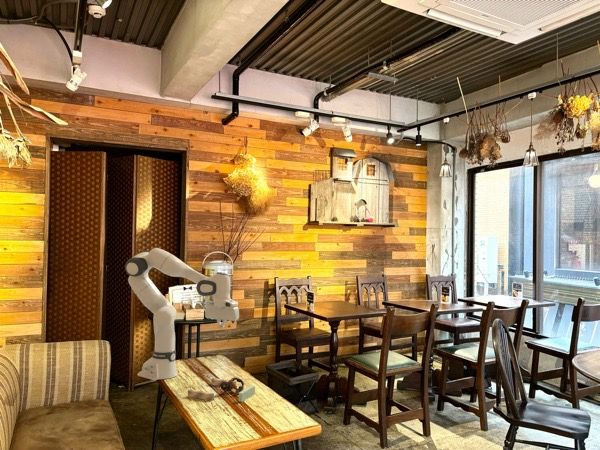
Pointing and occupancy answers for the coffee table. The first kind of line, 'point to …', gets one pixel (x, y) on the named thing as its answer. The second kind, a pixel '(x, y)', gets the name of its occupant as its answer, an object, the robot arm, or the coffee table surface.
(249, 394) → the block
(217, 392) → the coffee table surface
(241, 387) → the broken brown clay pot
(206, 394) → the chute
